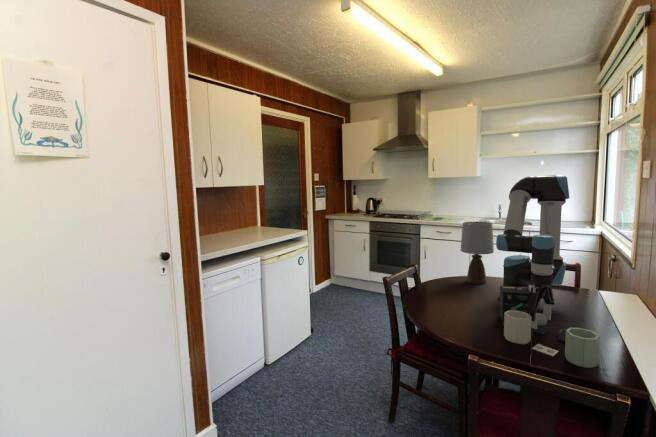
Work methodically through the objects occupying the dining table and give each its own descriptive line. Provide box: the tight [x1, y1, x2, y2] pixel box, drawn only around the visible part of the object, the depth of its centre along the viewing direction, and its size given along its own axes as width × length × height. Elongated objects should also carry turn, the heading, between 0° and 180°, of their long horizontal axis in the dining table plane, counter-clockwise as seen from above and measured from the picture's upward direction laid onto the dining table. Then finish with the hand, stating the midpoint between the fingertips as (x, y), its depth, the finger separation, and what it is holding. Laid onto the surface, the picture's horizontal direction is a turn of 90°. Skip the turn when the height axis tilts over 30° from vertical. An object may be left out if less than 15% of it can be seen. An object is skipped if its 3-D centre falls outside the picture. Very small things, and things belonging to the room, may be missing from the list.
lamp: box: [460, 221, 495, 285], centre depth 201 cm, size 19×19×37 cm
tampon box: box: [499, 285, 531, 325], centre depth 145 cm, size 11×9×15 cm
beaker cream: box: [503, 310, 532, 345], centre depth 129 cm, size 9×9×10 cm
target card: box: [531, 343, 560, 357], centre depth 120 cm, size 7×5×1 cm
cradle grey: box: [532, 324, 548, 335], centre depth 135 cm, size 4×4×3 cm
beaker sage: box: [564, 327, 601, 369], centre depth 112 cm, size 9×9×10 cm
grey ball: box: [537, 312, 549, 326], centre depth 135 cm, size 5×5×5 cm
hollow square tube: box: [557, 328, 567, 342], centre depth 128 cm, size 4×4×3 cm
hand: (540, 323), depth 134 cm, fingers open, 13 cm apart
